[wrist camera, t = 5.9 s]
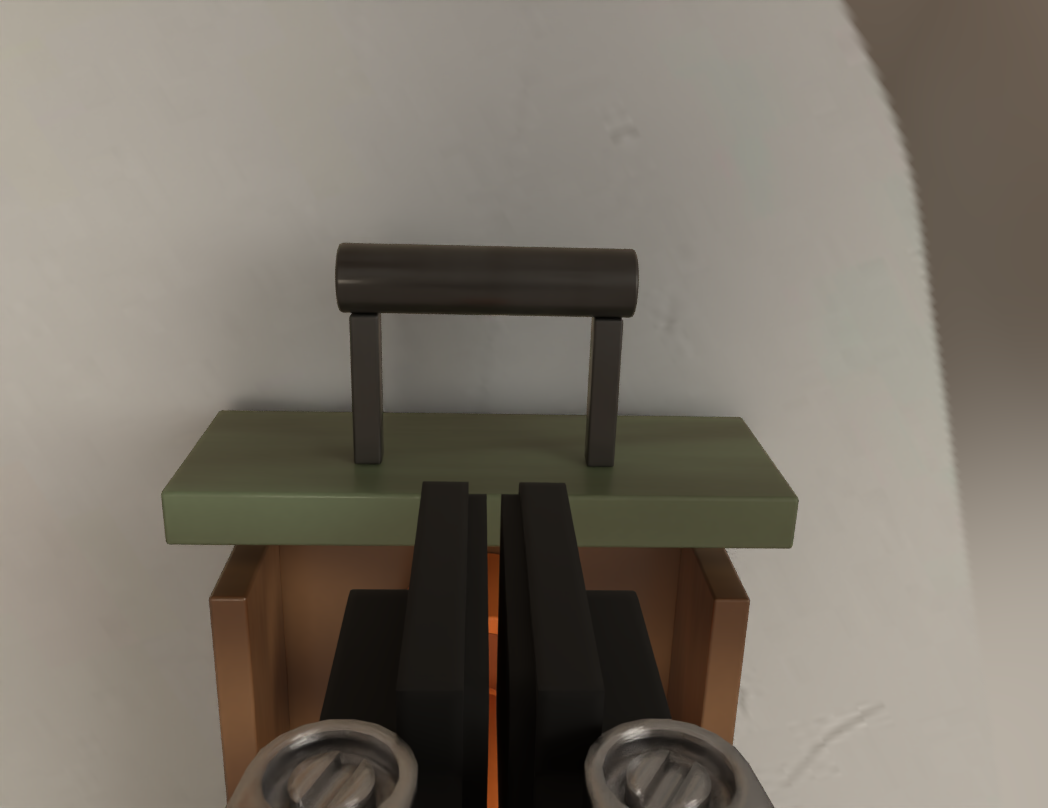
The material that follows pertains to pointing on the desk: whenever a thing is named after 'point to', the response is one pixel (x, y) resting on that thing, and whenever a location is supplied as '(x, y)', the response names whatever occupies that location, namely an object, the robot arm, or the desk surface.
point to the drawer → (490, 468)
